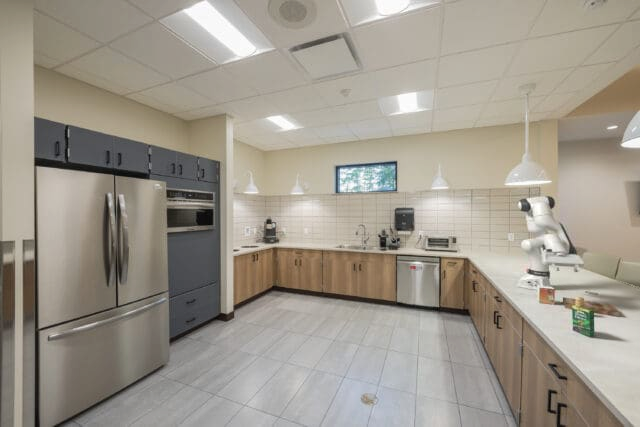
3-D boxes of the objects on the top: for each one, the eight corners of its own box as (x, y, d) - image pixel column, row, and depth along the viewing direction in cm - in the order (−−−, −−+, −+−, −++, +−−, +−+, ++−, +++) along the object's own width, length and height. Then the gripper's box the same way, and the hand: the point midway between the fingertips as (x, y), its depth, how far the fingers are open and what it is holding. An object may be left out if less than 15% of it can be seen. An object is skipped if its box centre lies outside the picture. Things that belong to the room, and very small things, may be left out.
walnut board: (565, 308, 157) (565, 302, 157) (562, 302, 166) (562, 297, 166) (618, 317, 143) (619, 311, 143) (612, 310, 153) (612, 304, 153)
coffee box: (571, 329, 129) (571, 304, 129) (576, 329, 129) (576, 304, 129) (589, 337, 121) (589, 310, 121) (594, 337, 121) (595, 310, 121)
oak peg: (575, 315, 146) (575, 298, 146) (574, 313, 149) (574, 296, 149) (585, 316, 144) (585, 299, 144) (583, 314, 147) (583, 297, 147)
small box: (539, 303, 166) (539, 287, 166) (536, 300, 171) (536, 284, 171) (555, 305, 162) (555, 288, 162) (551, 302, 167) (551, 286, 167)
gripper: (576, 257, 165) (586, 275, 156) (538, 255, 172) (545, 272, 163) (580, 251, 161) (591, 269, 152) (541, 249, 168) (548, 266, 159)
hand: (567, 270), depth 157 cm, fingers open, 8 cm apart
